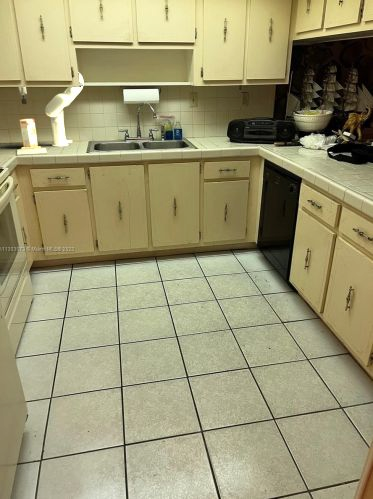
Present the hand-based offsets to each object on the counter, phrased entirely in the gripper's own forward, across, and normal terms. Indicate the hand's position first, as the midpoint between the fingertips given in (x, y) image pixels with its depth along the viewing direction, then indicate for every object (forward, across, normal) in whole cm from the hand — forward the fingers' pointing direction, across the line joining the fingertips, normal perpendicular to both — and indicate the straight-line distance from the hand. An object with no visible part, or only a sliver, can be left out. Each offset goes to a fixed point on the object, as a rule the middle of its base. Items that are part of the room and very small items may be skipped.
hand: (24, 103), depth 286 cm
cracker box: (+31, -14, 0) cm, 34 cm away
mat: (+31, -34, 0) cm, 46 cm away
